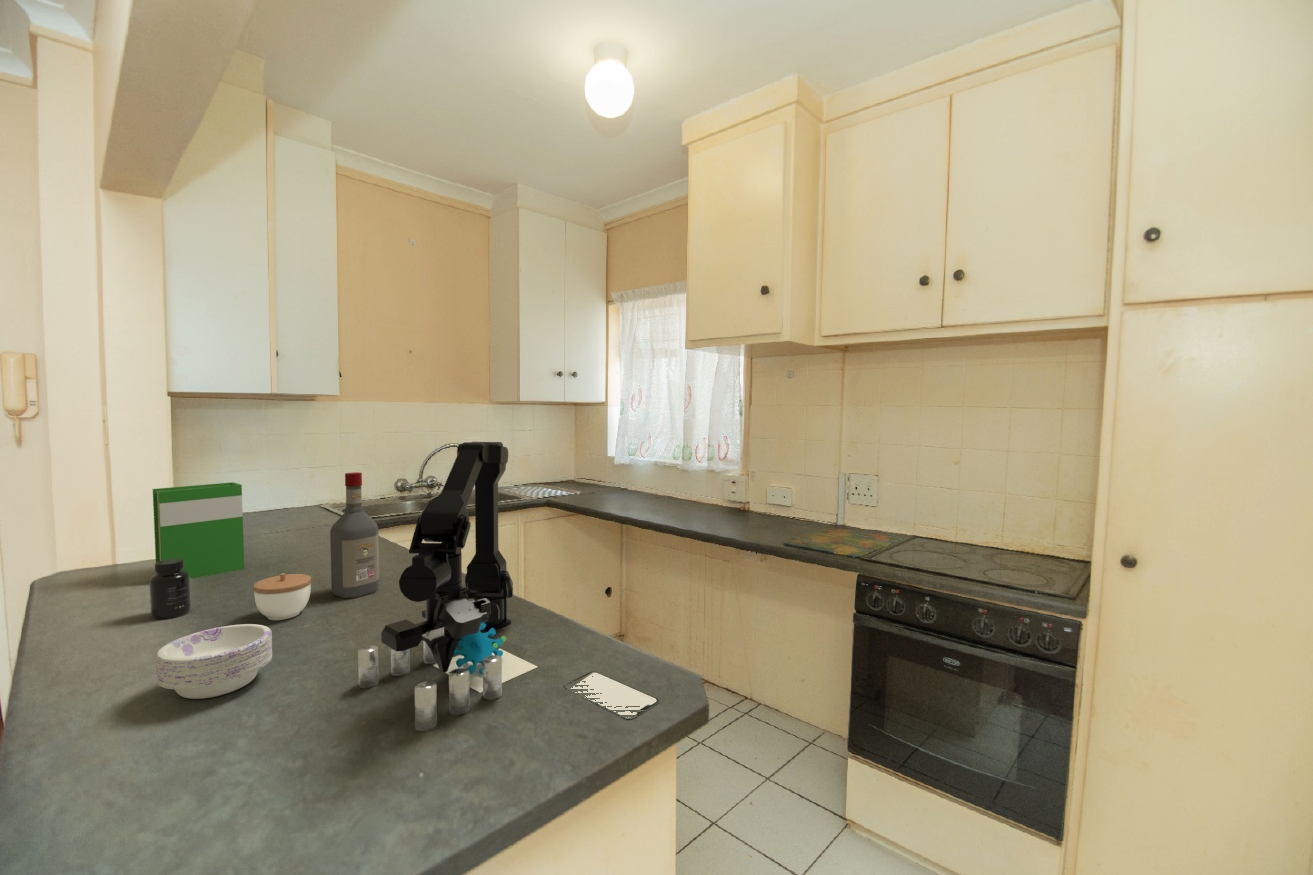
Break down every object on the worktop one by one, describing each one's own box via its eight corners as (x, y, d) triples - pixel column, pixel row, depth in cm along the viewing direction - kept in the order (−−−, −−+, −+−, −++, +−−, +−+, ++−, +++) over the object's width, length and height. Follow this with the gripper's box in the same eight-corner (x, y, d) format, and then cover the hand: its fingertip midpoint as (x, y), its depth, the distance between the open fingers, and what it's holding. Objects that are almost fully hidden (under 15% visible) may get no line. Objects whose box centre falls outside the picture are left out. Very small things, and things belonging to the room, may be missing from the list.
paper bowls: (211, 663, 102) (209, 620, 102) (293, 665, 102) (292, 622, 101) (130, 708, 87) (128, 658, 87) (226, 711, 87) (224, 661, 86)
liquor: (383, 590, 142) (381, 472, 141) (347, 600, 135) (345, 476, 133) (363, 583, 147) (361, 470, 145) (327, 593, 140) (324, 473, 138)
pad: (489, 644, 112) (489, 643, 112) (537, 667, 102) (537, 666, 102) (432, 665, 102) (432, 664, 102) (480, 693, 93) (480, 692, 93)
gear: (460, 676, 95) (445, 622, 100) (445, 692, 97) (432, 639, 102) (516, 663, 103) (500, 614, 108) (501, 679, 105) (486, 630, 110)
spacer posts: (435, 655, 106) (435, 624, 106) (505, 694, 93) (505, 658, 92) (355, 684, 95) (354, 649, 95) (421, 733, 81) (421, 693, 81)
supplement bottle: (143, 617, 123) (141, 563, 122) (179, 606, 129) (177, 555, 129) (162, 622, 120) (160, 567, 120) (198, 611, 127) (196, 559, 126)
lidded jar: (265, 628, 118) (263, 584, 117) (247, 616, 124) (245, 574, 124) (320, 613, 126) (319, 572, 126) (300, 602, 133) (299, 564, 132)
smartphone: (560, 689, 95) (629, 723, 85) (560, 686, 95) (629, 720, 85) (593, 672, 101) (662, 702, 91) (593, 669, 101) (662, 699, 91)
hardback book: (162, 583, 145) (158, 492, 144) (156, 578, 150) (152, 489, 148) (244, 568, 159) (241, 484, 157) (236, 563, 164) (233, 482, 162)
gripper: (413, 607, 83) (414, 710, 83) (518, 579, 97) (518, 667, 98) (379, 590, 90) (380, 685, 90) (481, 566, 104) (481, 649, 105)
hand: (443, 671), depth 96 cm, fingers closed
